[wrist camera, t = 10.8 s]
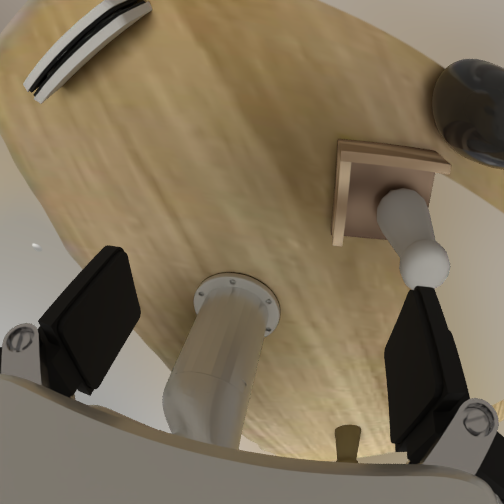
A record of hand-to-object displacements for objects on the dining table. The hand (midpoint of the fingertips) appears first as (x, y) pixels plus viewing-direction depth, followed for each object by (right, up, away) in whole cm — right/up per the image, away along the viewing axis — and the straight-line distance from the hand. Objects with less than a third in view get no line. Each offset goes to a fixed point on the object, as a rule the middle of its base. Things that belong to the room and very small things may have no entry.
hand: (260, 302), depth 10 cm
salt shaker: (+16, +7, +23) cm, 29 cm away
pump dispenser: (+22, +17, +16) cm, 32 cm away
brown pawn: (+21, -38, +52) cm, 68 cm away
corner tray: (+14, +8, +23) cm, 28 cm away
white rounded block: (-19, +27, +19) cm, 38 cm away
